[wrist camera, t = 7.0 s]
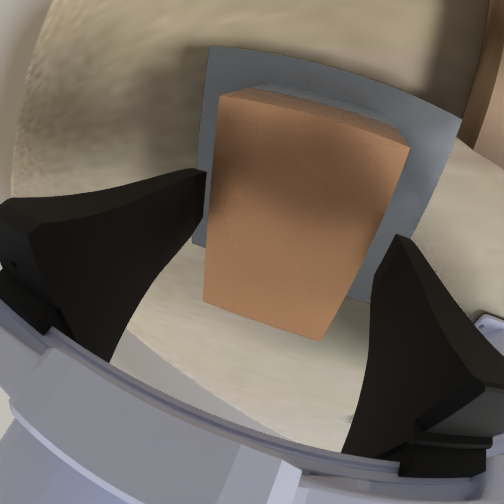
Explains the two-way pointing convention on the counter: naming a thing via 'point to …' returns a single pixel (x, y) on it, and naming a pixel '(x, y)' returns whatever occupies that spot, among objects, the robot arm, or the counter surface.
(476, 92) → the stand
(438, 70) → the counter surface
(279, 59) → the stand
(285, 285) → the block
